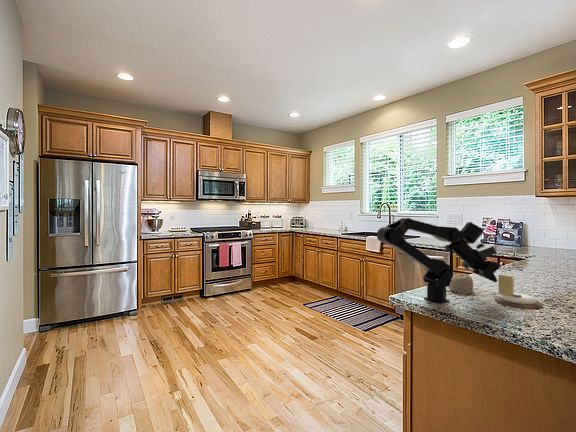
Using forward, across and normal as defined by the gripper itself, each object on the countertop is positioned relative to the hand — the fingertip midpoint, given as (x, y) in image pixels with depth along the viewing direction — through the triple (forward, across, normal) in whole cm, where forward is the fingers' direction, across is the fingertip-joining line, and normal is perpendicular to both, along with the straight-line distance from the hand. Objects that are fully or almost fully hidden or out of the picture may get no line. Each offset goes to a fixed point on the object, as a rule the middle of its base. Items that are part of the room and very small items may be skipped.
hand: (496, 281), depth 116 cm
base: (+9, -3, +1) cm, 10 cm away
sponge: (0, +14, +10) cm, 17 cm away
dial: (+8, -3, 0) cm, 9 cm away
